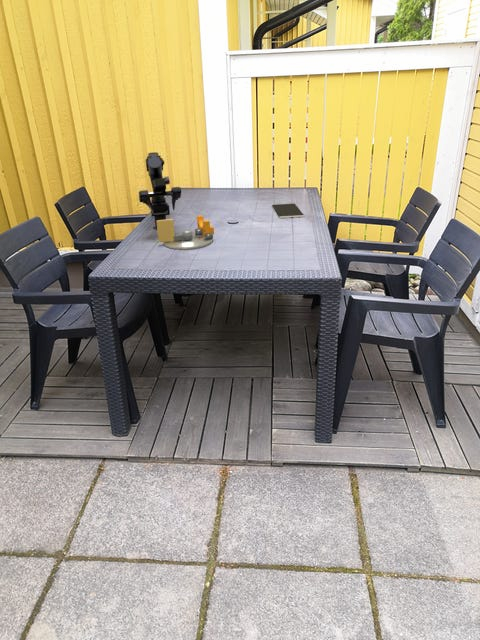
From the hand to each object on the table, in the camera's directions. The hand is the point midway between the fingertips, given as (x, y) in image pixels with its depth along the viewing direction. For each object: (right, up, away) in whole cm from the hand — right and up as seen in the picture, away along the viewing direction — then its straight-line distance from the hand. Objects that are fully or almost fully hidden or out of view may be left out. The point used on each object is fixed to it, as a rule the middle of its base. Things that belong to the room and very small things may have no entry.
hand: (163, 211), depth 213 cm
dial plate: (+11, -14, +2) cm, 17 cm away
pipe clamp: (+18, -6, +16) cm, 25 cm away
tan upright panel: (+6, -13, 0) cm, 14 cm away
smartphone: (+60, +9, +44) cm, 75 cm away
